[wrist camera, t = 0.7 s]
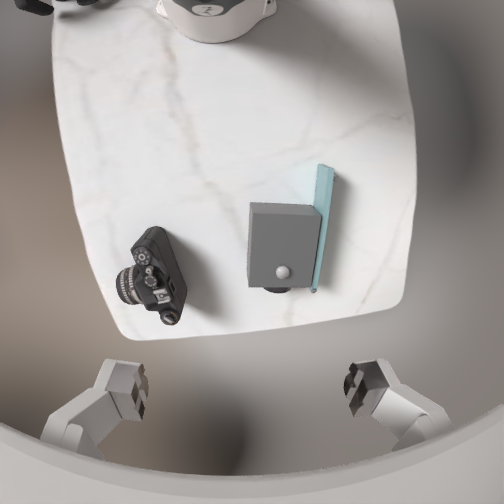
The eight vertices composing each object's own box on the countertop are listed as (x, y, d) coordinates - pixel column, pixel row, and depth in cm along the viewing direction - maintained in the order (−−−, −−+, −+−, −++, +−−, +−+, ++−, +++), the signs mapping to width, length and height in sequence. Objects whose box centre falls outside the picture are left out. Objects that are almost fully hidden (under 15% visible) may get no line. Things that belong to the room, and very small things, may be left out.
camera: (111, 239, 46) (88, 264, 37) (165, 221, 46) (150, 244, 37) (143, 305, 52) (129, 338, 43) (194, 292, 52) (187, 326, 43)
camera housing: (250, 202, 46) (253, 214, 39) (311, 205, 46) (323, 217, 40) (246, 276, 51) (248, 297, 45) (301, 276, 52) (310, 297, 46)
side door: (318, 163, 43) (328, 168, 39) (328, 164, 43) (339, 169, 39) (303, 278, 51) (310, 293, 47) (313, 278, 52) (320, 292, 47)
